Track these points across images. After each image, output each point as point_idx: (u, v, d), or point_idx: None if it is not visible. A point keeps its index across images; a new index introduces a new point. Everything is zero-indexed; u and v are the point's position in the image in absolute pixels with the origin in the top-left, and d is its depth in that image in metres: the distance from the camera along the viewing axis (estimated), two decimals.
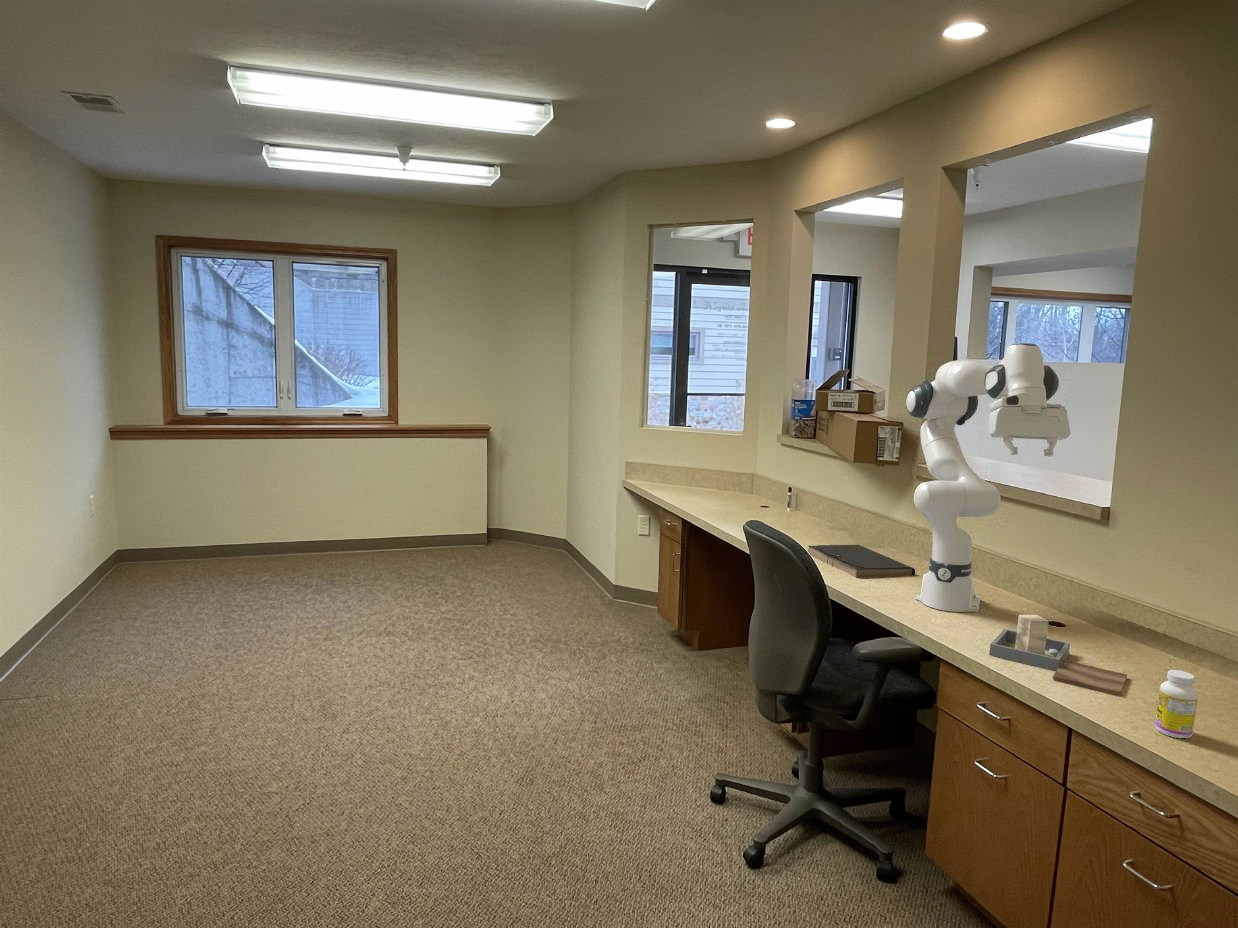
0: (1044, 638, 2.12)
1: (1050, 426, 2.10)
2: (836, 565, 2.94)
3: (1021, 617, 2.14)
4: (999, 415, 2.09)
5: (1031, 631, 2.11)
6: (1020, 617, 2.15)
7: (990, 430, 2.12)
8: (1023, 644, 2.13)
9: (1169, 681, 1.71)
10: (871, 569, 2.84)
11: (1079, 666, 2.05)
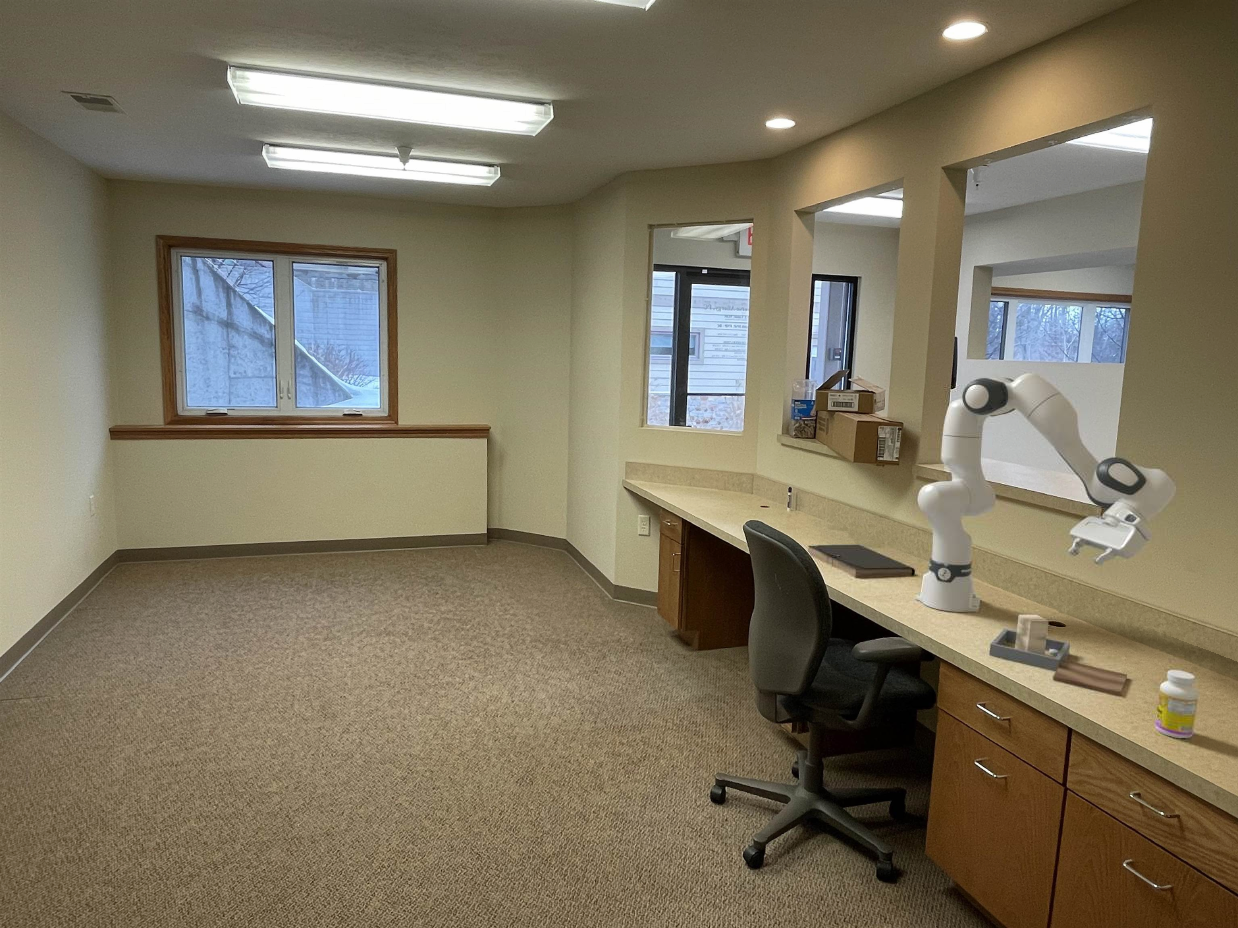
0: (1044, 638, 2.12)
1: None
2: (836, 565, 2.94)
3: (1021, 617, 2.14)
4: None
5: (1031, 631, 2.11)
6: (1020, 617, 2.15)
7: (1128, 548, 2.03)
8: (1023, 644, 2.13)
9: (1169, 681, 1.71)
10: (870, 569, 2.84)
11: (1079, 666, 2.05)
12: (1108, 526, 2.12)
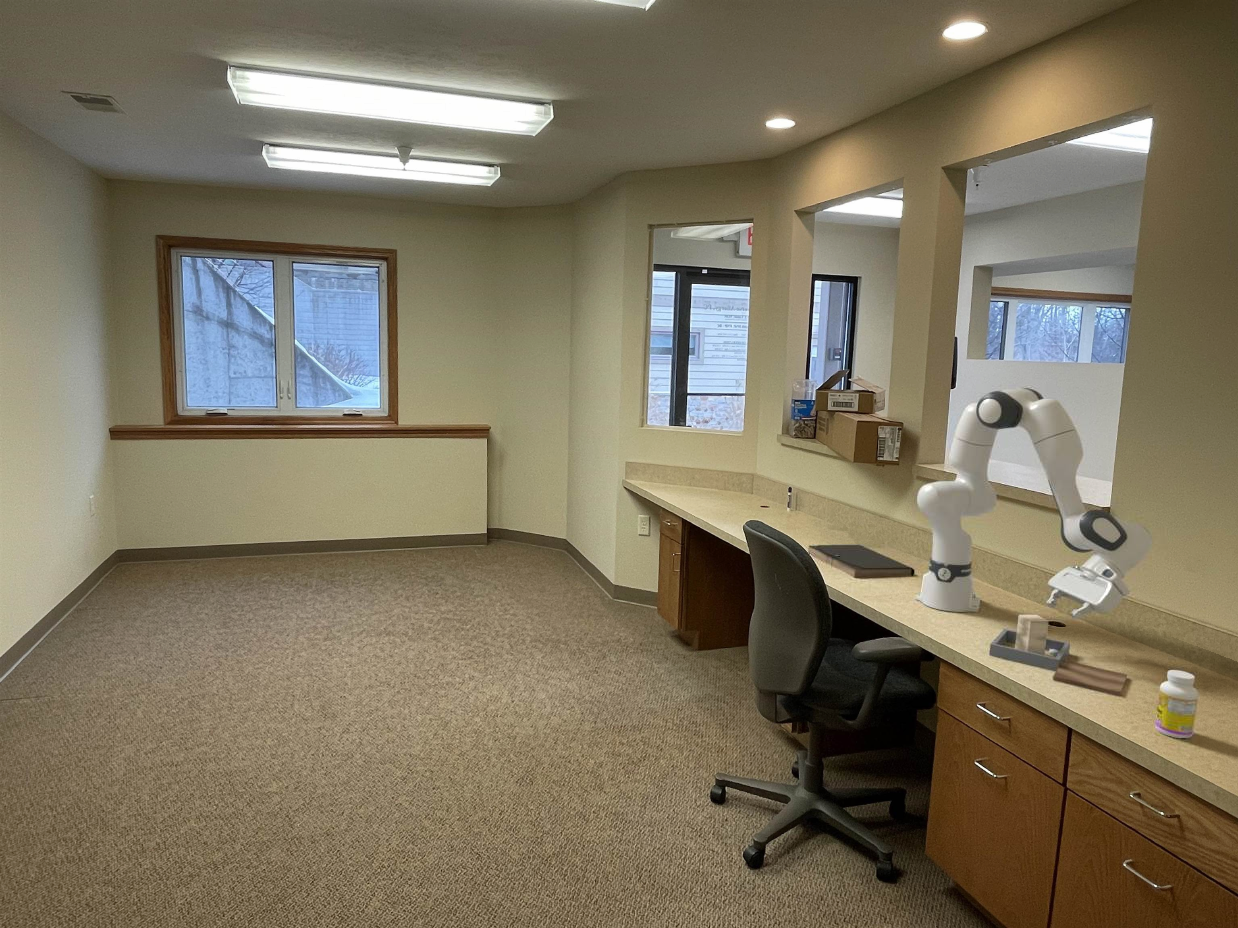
0: (1044, 638, 2.12)
1: None
2: (835, 565, 2.94)
3: (1021, 617, 2.14)
4: None
5: (1031, 631, 2.11)
6: (1020, 617, 2.15)
7: (1105, 604, 2.04)
8: (1023, 644, 2.13)
9: (1169, 681, 1.71)
10: (869, 569, 2.84)
11: (1079, 666, 2.05)
12: (1086, 579, 2.14)
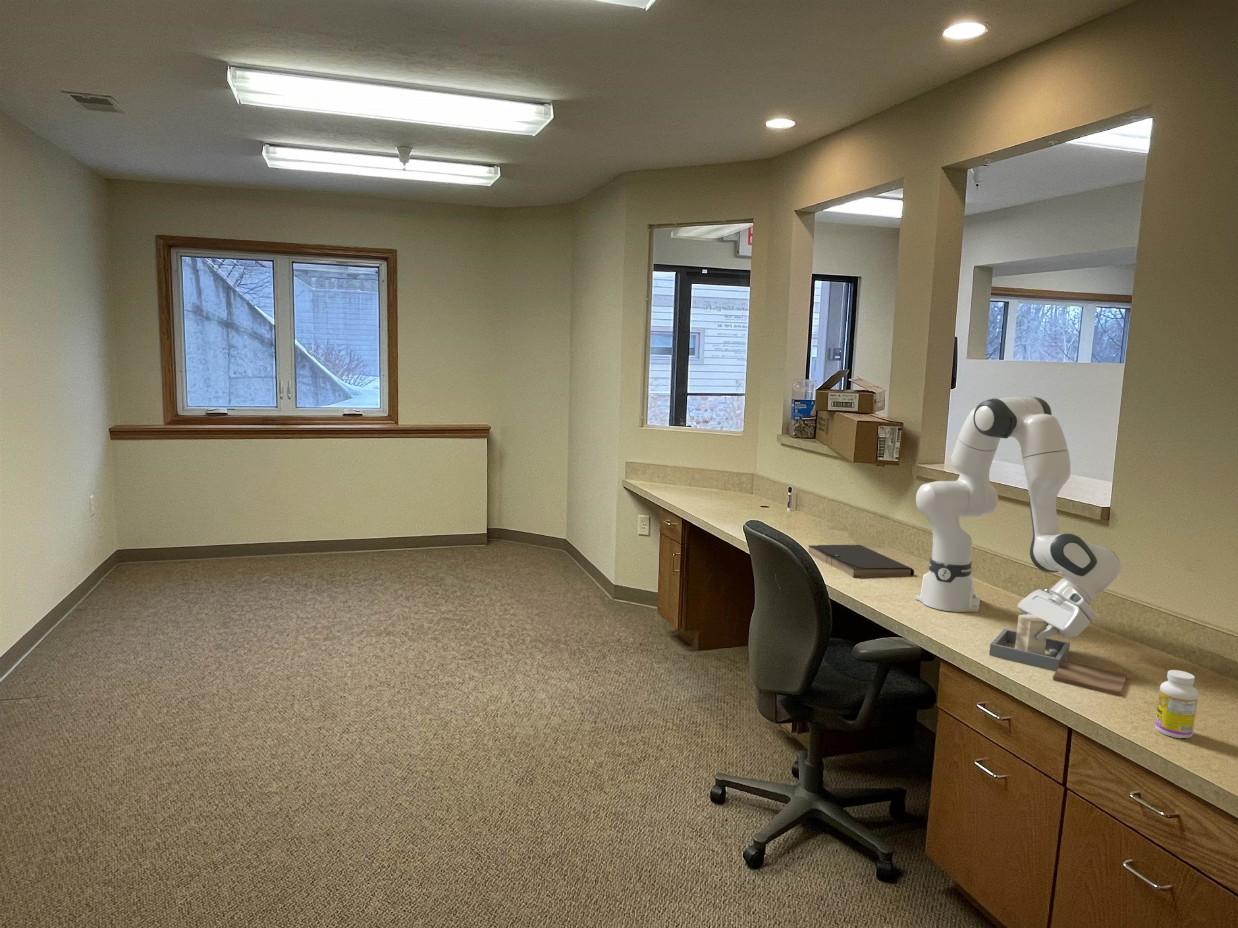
0: None
1: None
2: (834, 565, 2.95)
3: (1021, 617, 2.14)
4: None
5: (1031, 631, 2.11)
6: (1020, 617, 2.15)
7: (1071, 629, 2.04)
8: (1023, 644, 2.13)
9: (1169, 681, 1.71)
10: (868, 569, 2.84)
11: (1079, 666, 2.05)
12: (1054, 603, 2.14)
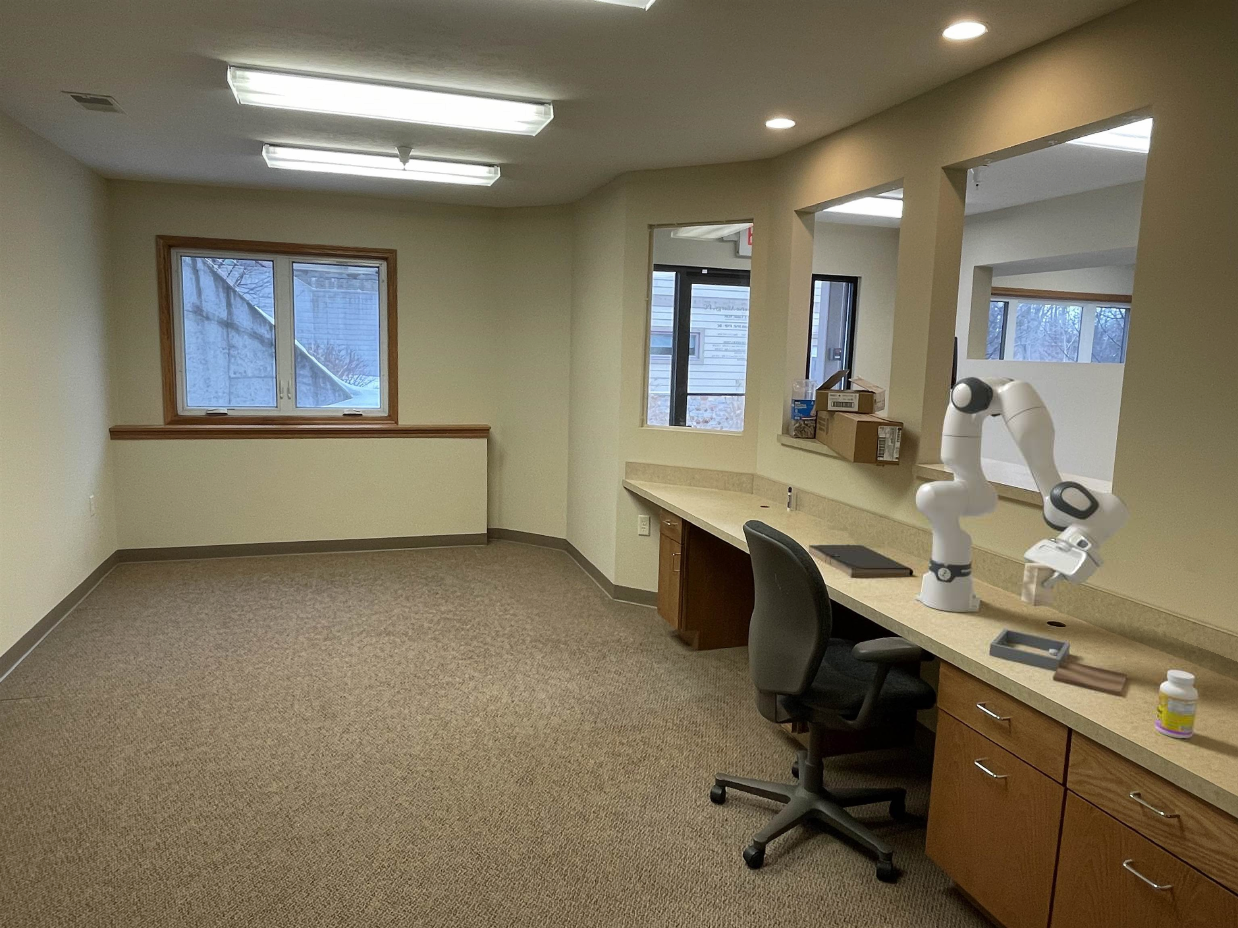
0: (1051, 586, 2.10)
1: None
2: (833, 564, 2.95)
3: (1027, 565, 2.12)
4: None
5: (1038, 578, 2.09)
6: (1027, 565, 2.12)
7: (1079, 575, 2.02)
8: (1030, 592, 2.11)
9: (1169, 681, 1.71)
10: (867, 569, 2.84)
11: (1079, 666, 2.05)
12: (1061, 551, 2.11)
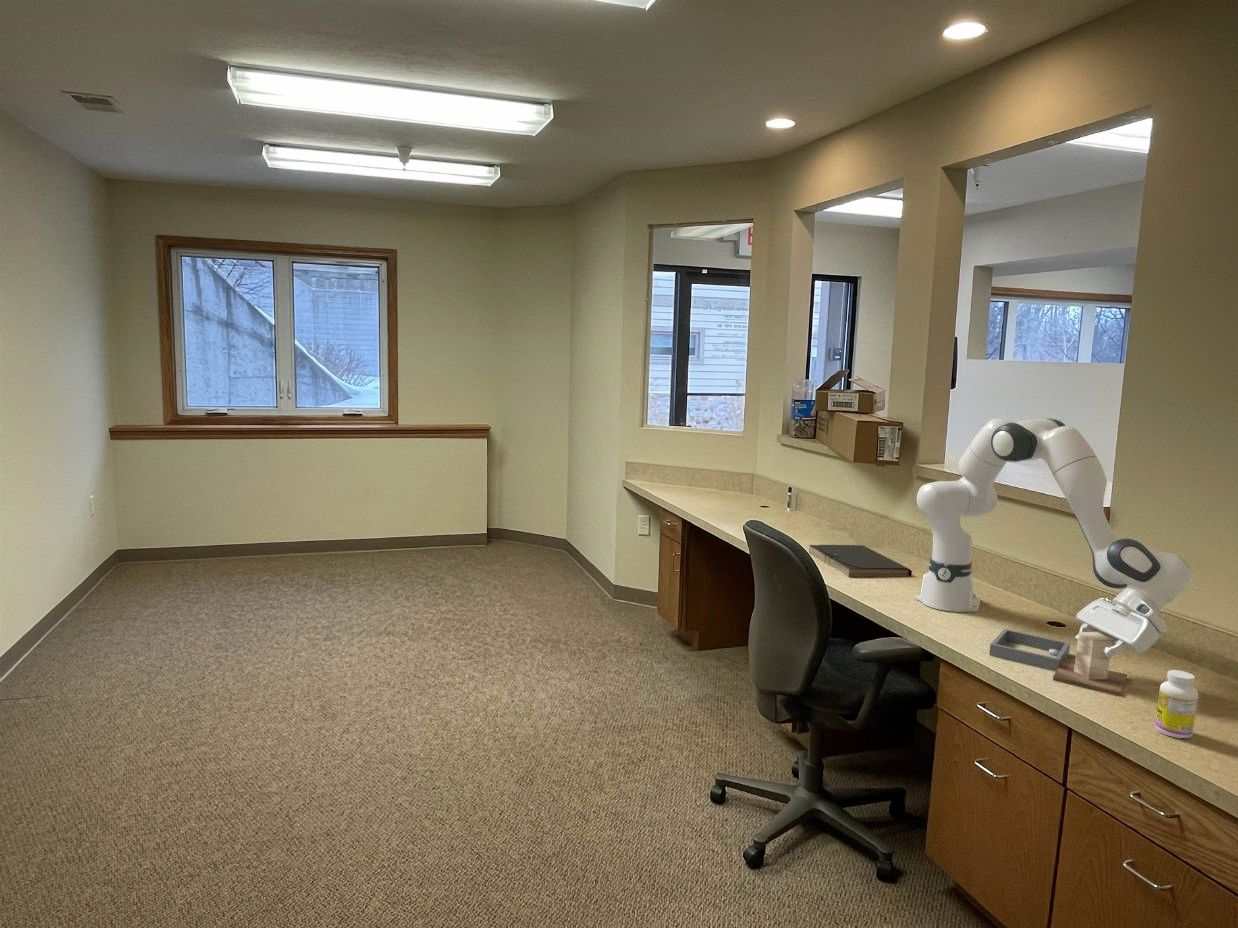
0: (1107, 658, 1.96)
1: None
2: (832, 564, 2.95)
3: (1081, 635, 1.99)
4: None
5: (1094, 650, 1.96)
6: (1080, 635, 1.99)
7: (1140, 643, 1.88)
8: (1084, 664, 1.98)
9: (1169, 681, 1.71)
10: (865, 569, 2.84)
11: None
12: (1118, 614, 1.98)
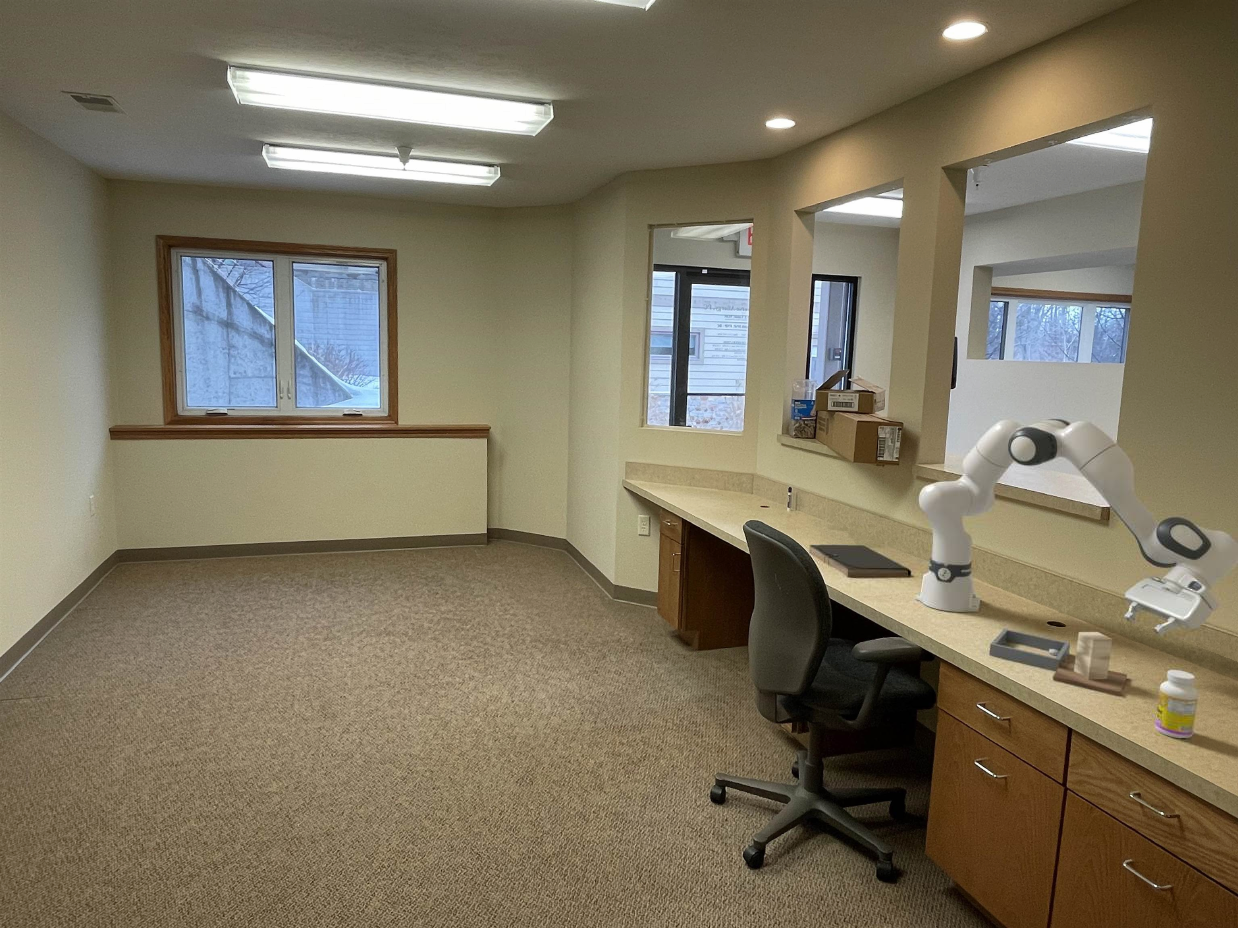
0: (1107, 658, 1.96)
1: None
2: (832, 564, 2.95)
3: (1081, 635, 1.99)
4: None
5: (1094, 650, 1.96)
6: (1080, 635, 1.99)
7: (1193, 619, 1.89)
8: (1084, 664, 1.98)
9: (1169, 681, 1.71)
10: (864, 569, 2.84)
11: None
12: (1168, 592, 1.99)
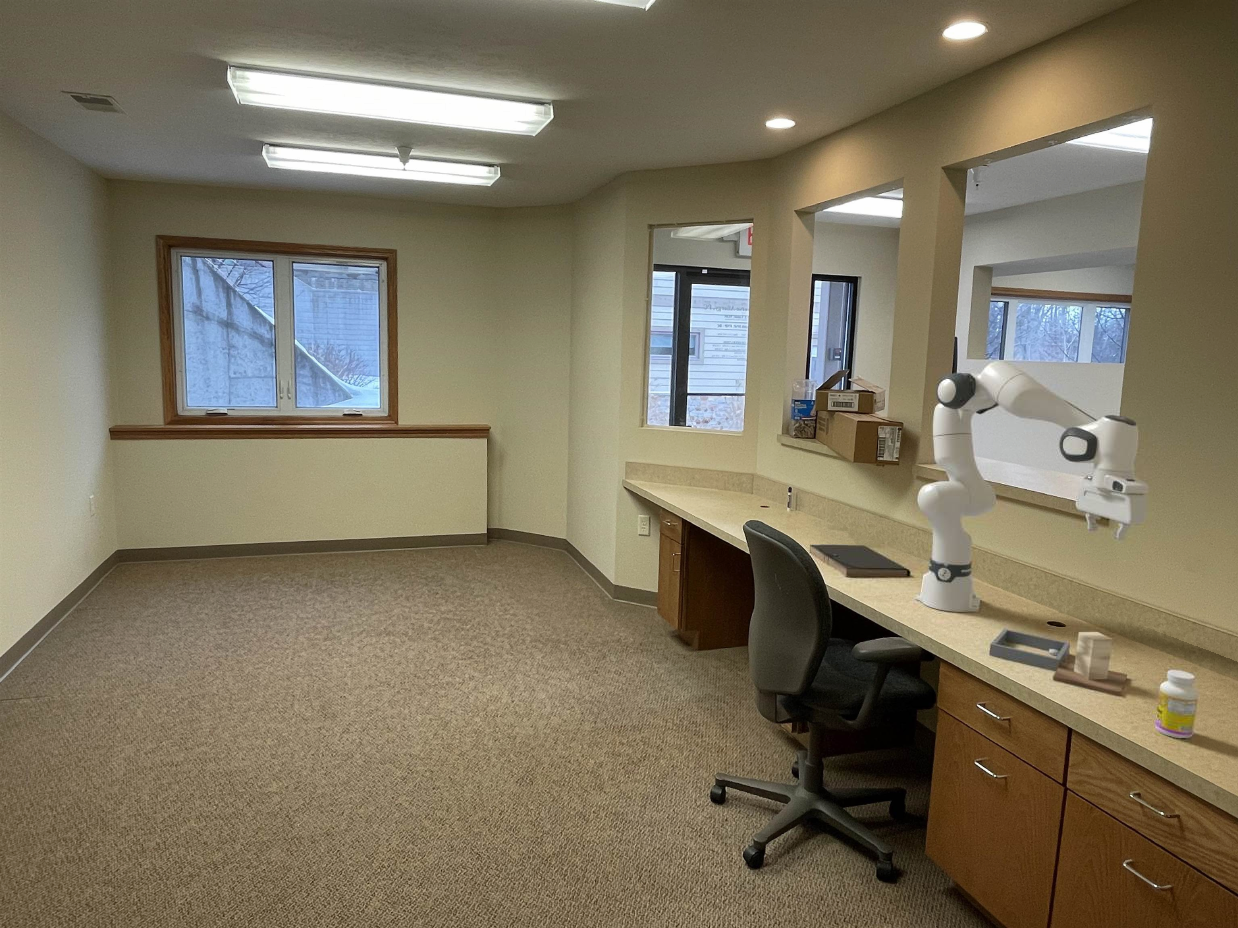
0: (1107, 658, 1.96)
1: None
2: (831, 564, 2.95)
3: (1081, 635, 1.99)
4: None
5: (1094, 650, 1.96)
6: (1080, 635, 1.99)
7: (1136, 518, 1.97)
8: (1084, 664, 1.98)
9: (1169, 681, 1.71)
10: (862, 569, 2.84)
11: None
12: (1104, 494, 2.06)
